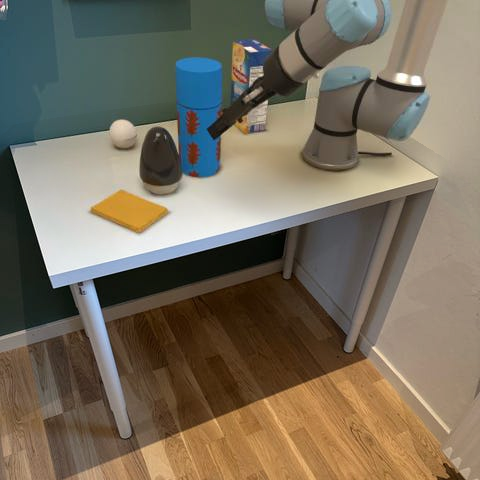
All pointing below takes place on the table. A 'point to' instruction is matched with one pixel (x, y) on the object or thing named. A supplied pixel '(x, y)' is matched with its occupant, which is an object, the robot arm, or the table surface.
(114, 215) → the mustard mat
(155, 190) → the black glossy oval body
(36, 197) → the table surface
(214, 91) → the thermos
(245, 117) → the cracker box
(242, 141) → the table surface
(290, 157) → the table surface
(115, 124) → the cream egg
